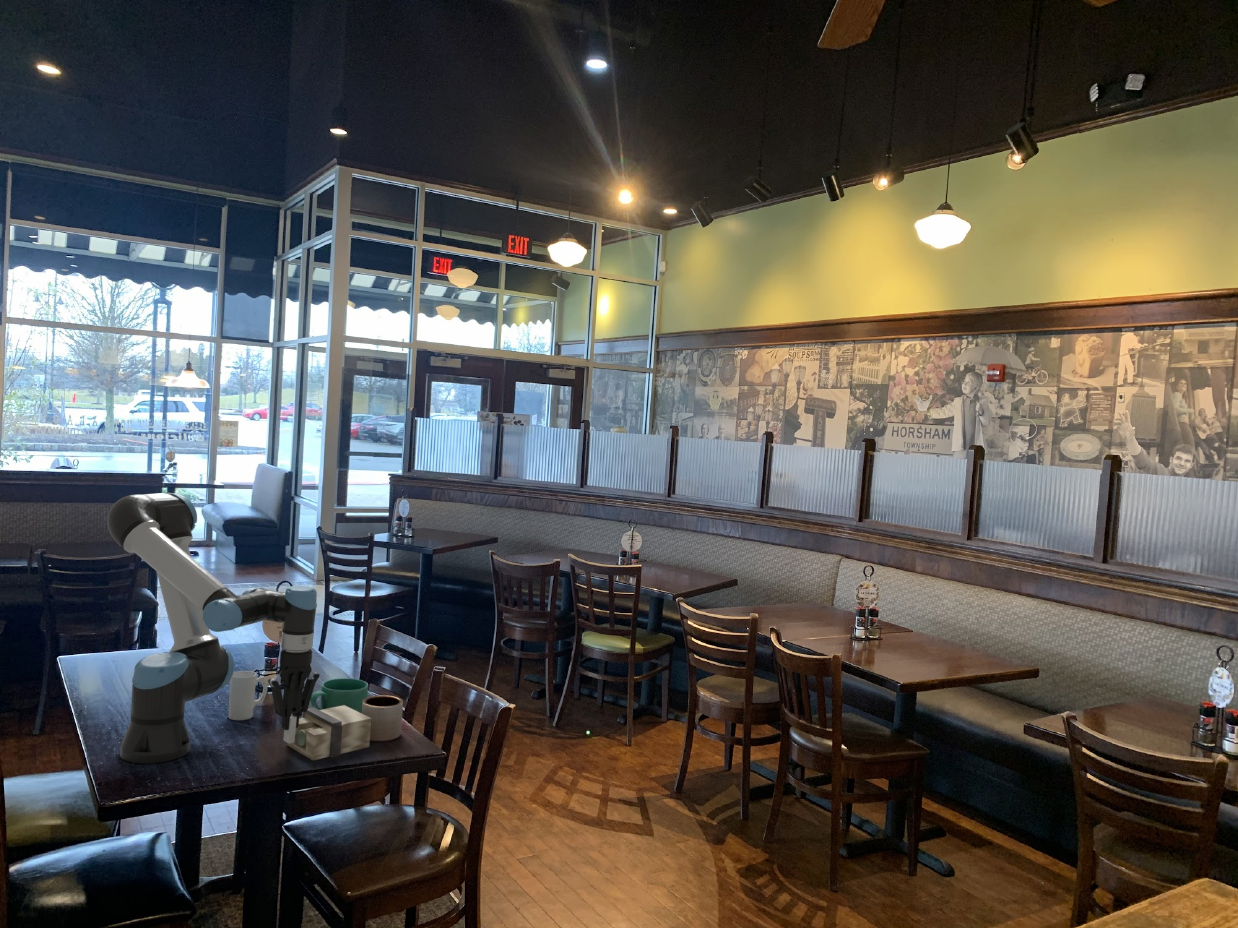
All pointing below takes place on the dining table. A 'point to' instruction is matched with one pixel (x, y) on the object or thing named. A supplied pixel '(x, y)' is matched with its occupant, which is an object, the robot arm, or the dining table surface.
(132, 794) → the dining table surface
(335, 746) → the sleeve block
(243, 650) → the dining table surface
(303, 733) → the dowel
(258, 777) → the dining table surface
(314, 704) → the mug
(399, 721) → the planter
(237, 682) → the mug
